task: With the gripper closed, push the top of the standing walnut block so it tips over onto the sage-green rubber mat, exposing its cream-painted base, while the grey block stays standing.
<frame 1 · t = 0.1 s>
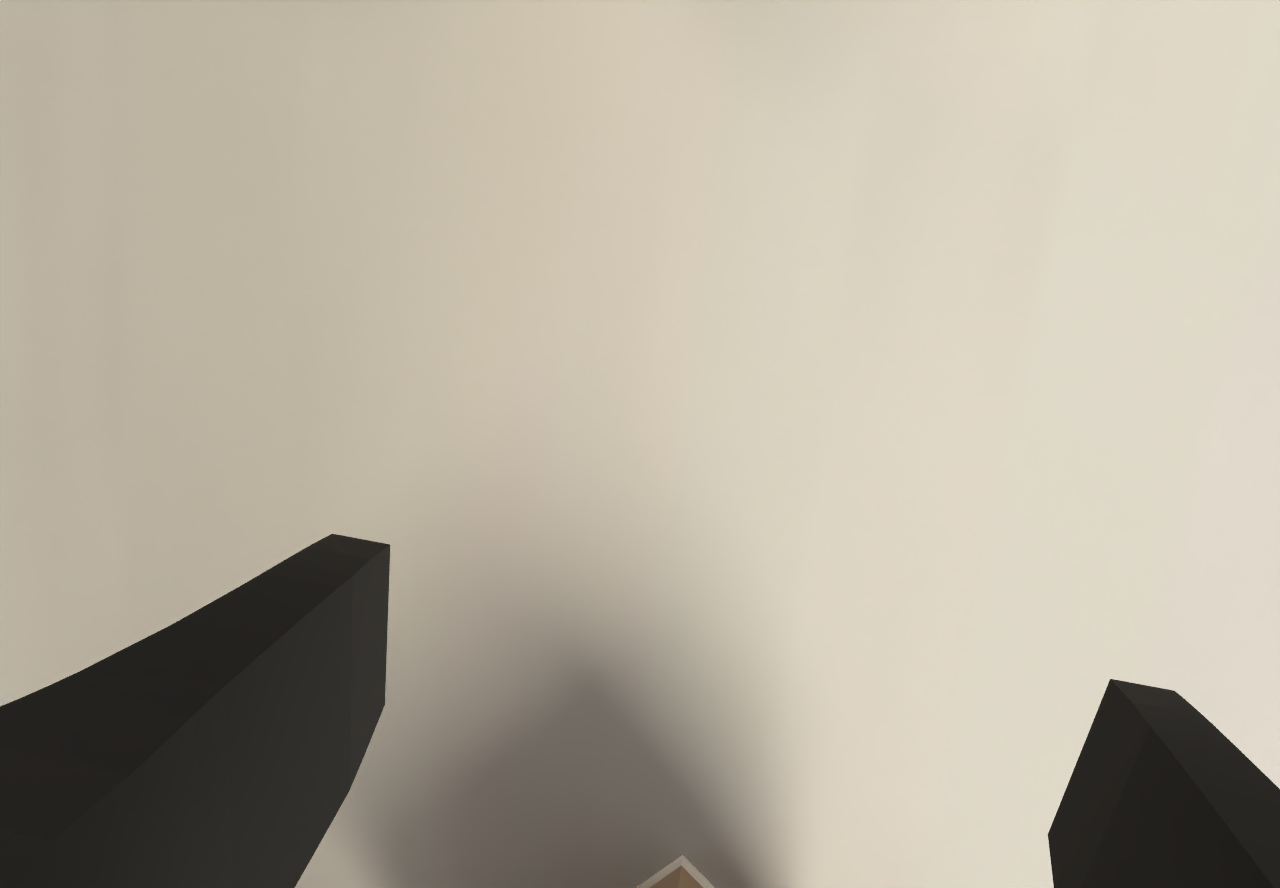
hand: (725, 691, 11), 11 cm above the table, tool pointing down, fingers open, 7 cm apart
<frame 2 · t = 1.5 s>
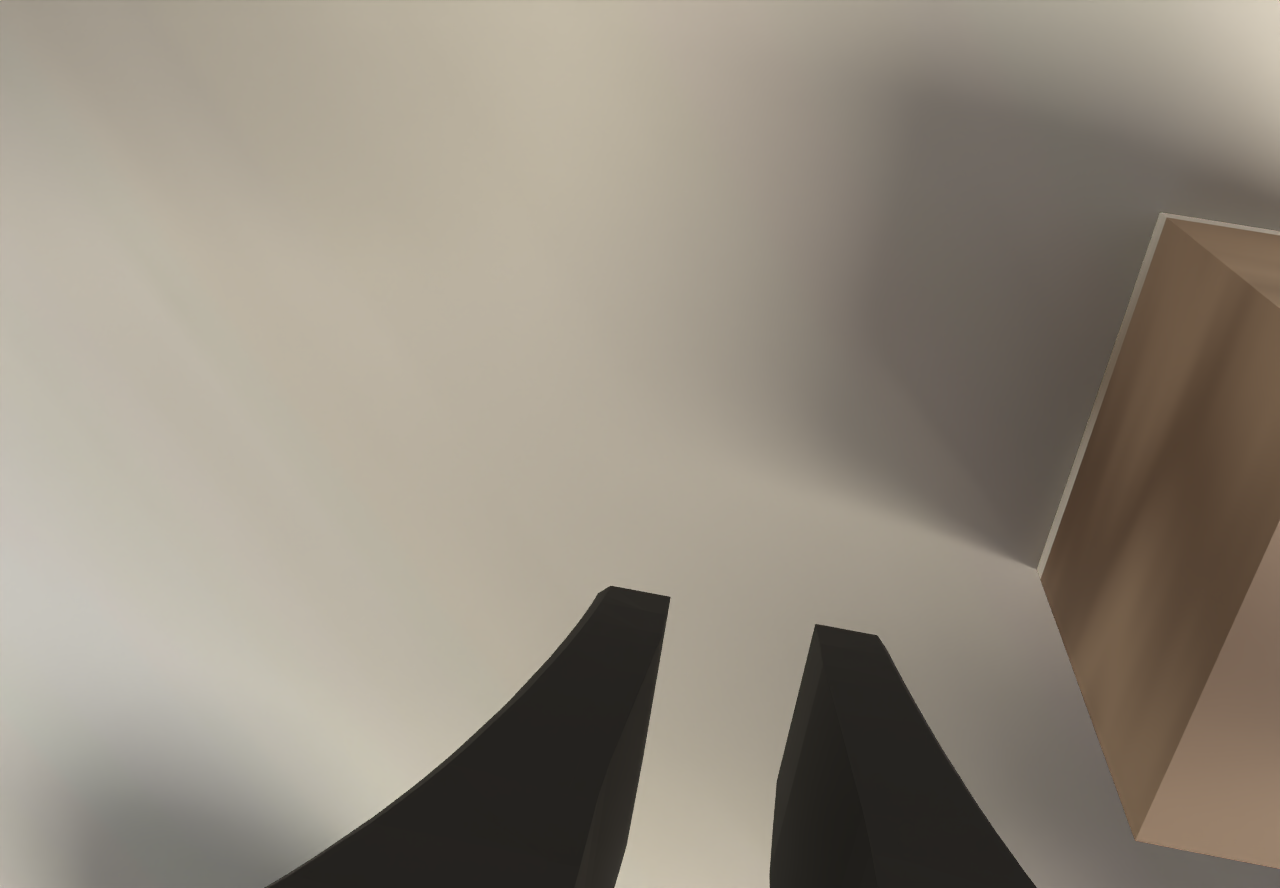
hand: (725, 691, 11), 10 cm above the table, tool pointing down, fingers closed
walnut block: (1206, 423, 19), on the table
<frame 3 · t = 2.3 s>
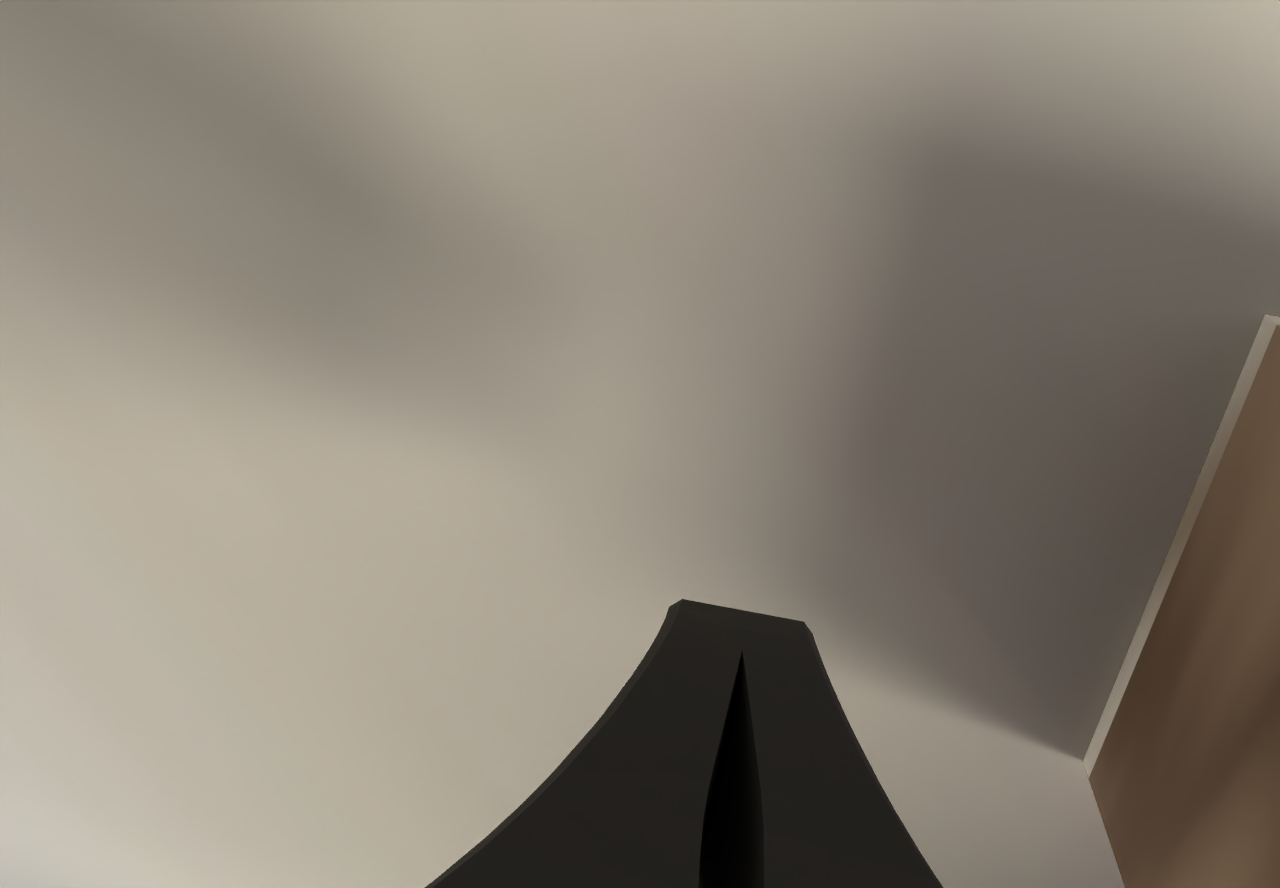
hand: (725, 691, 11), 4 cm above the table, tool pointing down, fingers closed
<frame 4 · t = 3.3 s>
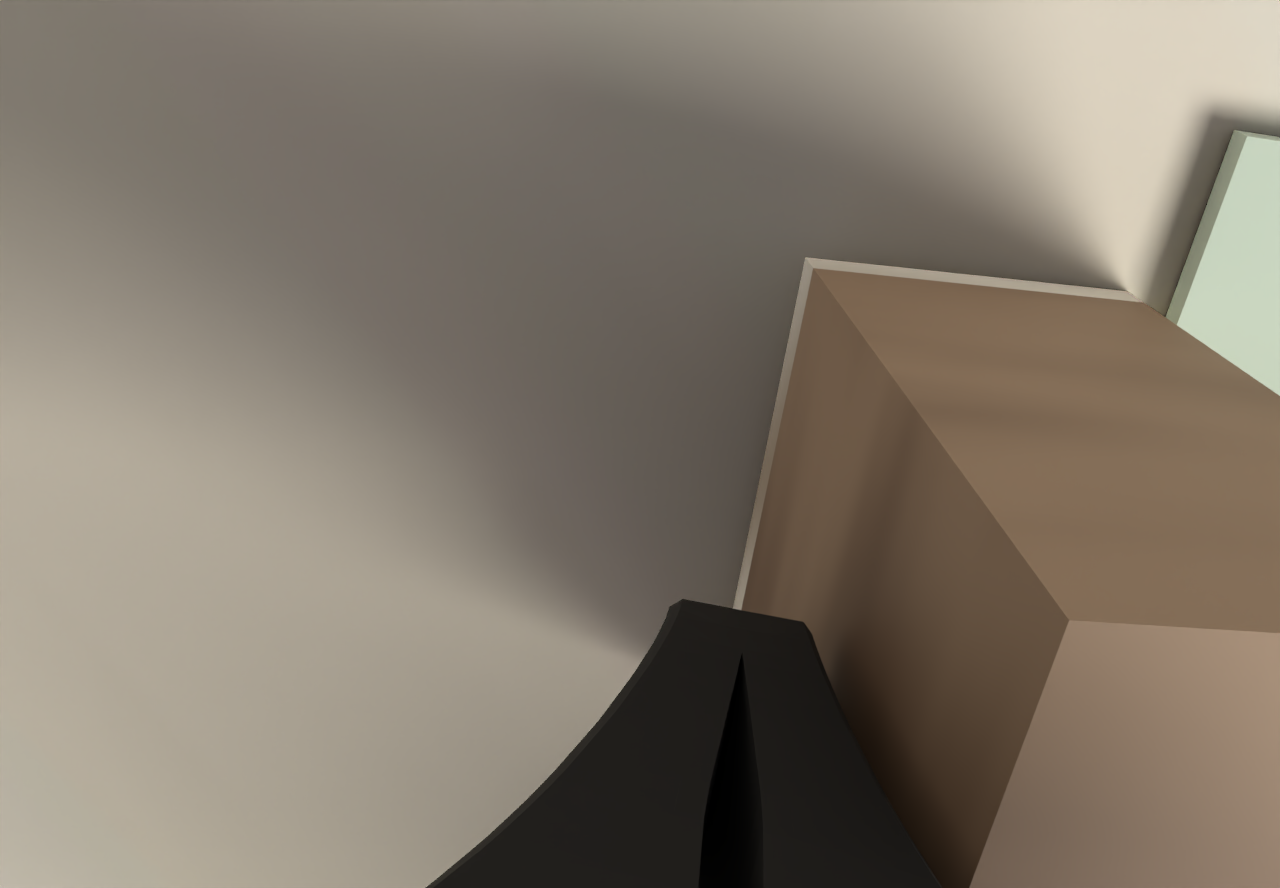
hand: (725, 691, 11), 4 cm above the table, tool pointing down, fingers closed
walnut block: (899, 528, 14), on the table, tilted 13°
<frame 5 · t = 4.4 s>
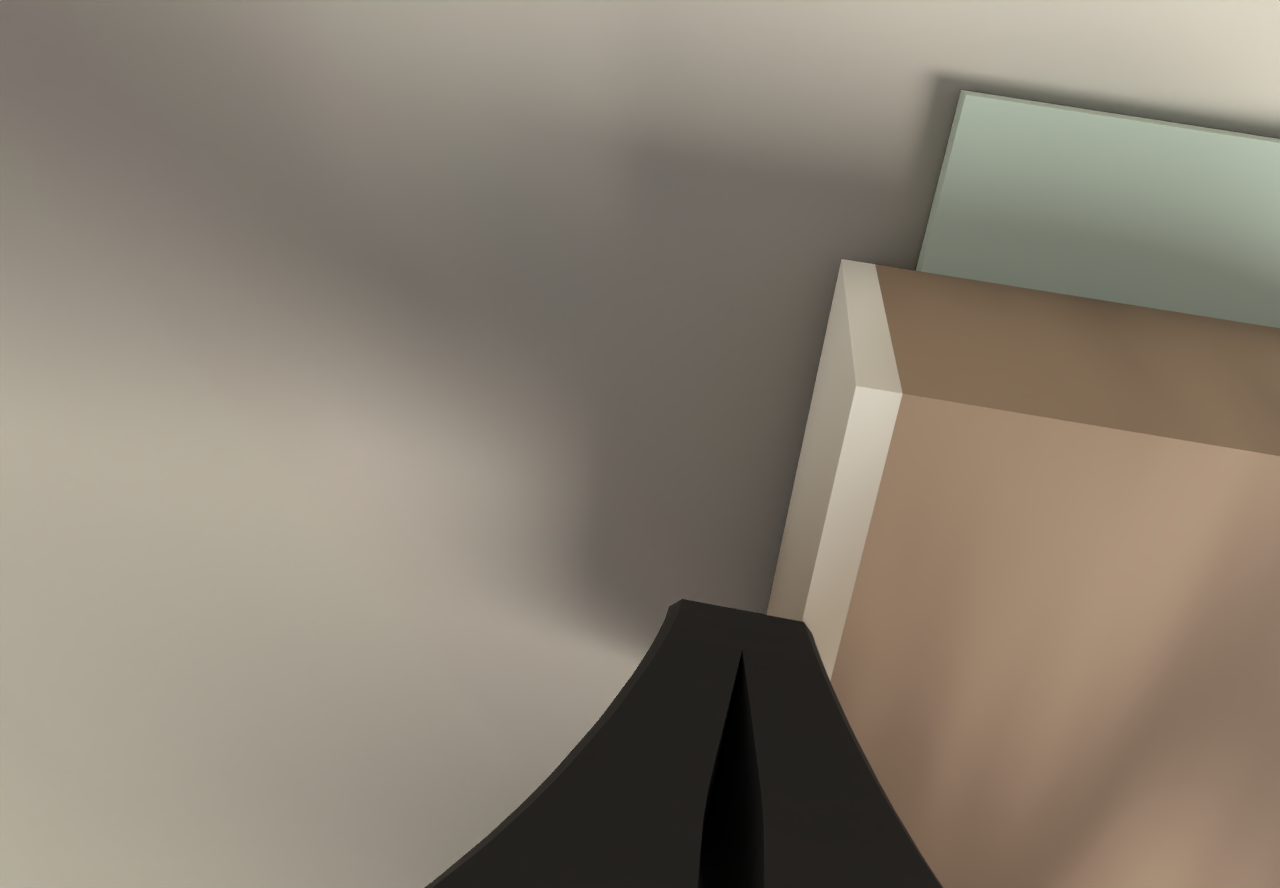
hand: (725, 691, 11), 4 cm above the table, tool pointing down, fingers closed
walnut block: (785, 595, 13), point 2 cm above the table, tilted 90°, touching sage mat
sage mat: (1155, 562, 15), on the table
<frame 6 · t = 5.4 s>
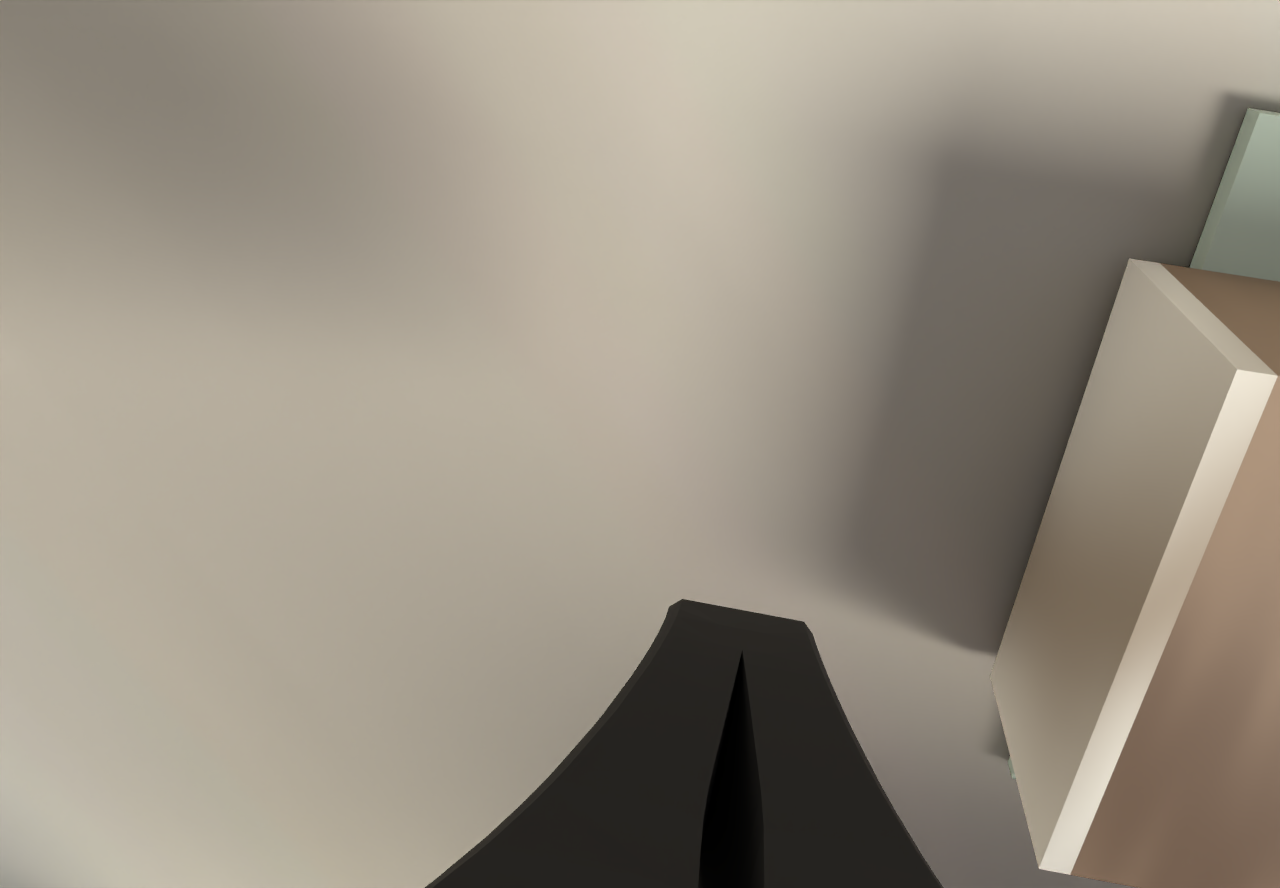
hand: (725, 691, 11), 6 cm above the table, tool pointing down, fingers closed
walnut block: (1084, 558, 14), point 2 cm above the table, tilted 90°, touching sage mat
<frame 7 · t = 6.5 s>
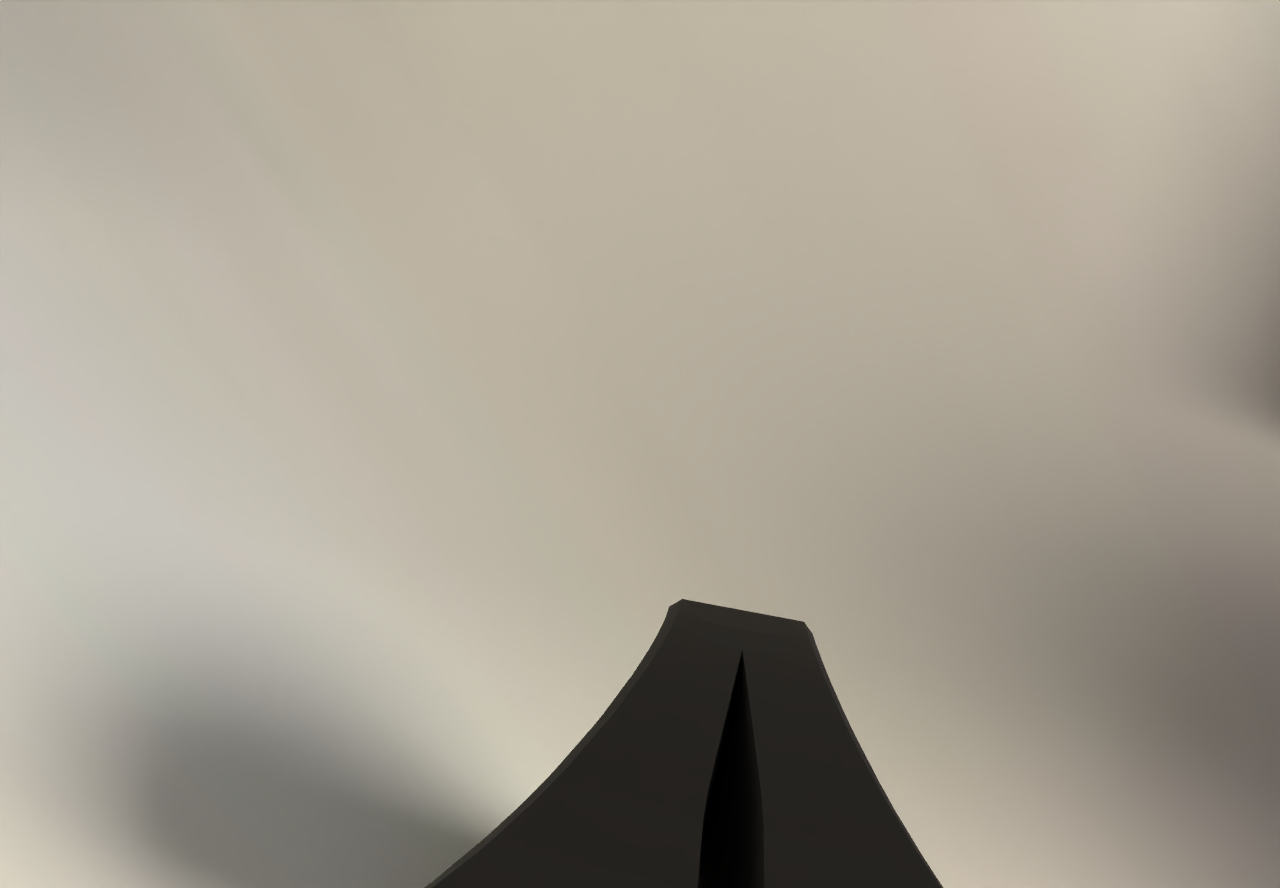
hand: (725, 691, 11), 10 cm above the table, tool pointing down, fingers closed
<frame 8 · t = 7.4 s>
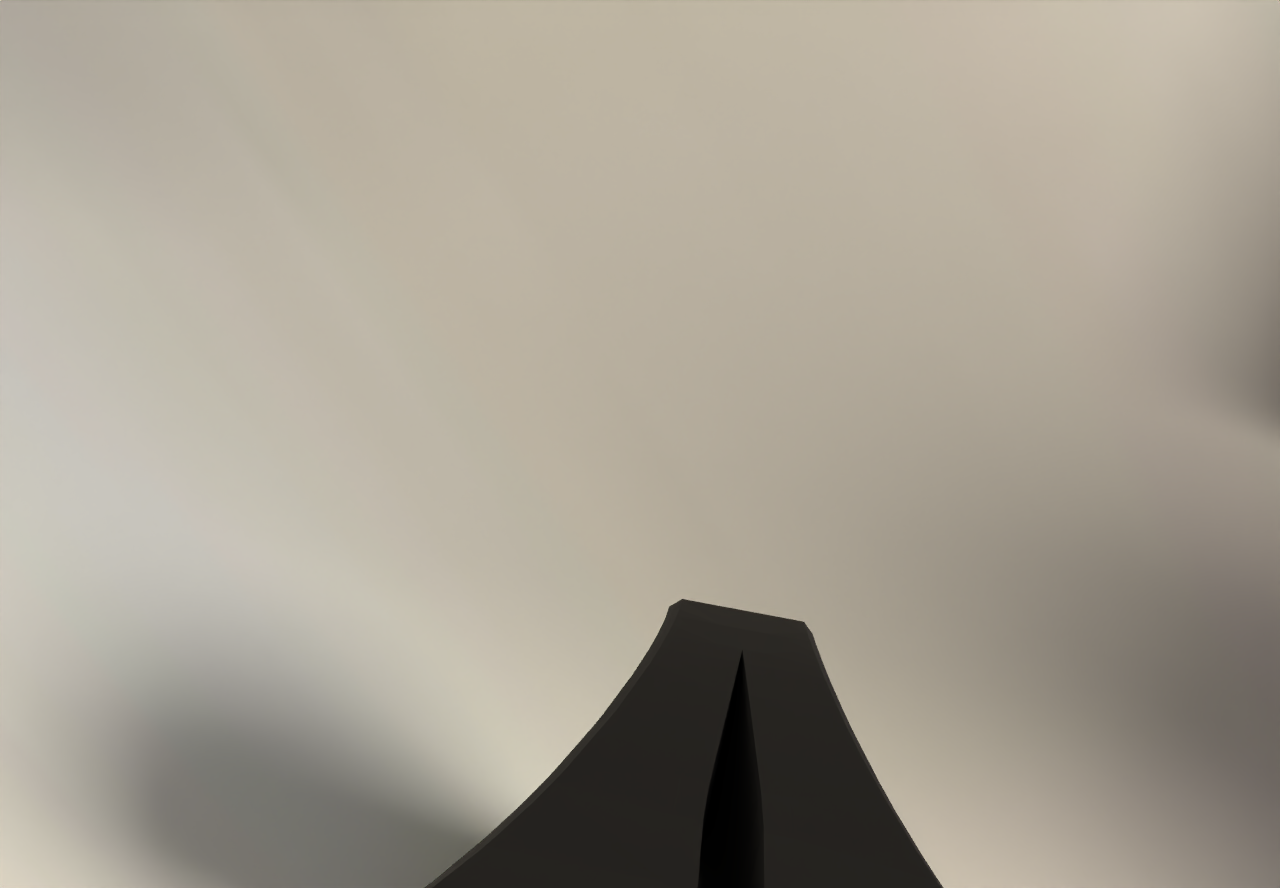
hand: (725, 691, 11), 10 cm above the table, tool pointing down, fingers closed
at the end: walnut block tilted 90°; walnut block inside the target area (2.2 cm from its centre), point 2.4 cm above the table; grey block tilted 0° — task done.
